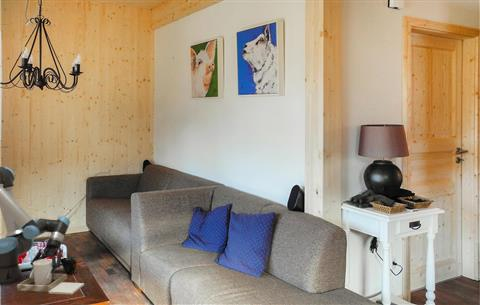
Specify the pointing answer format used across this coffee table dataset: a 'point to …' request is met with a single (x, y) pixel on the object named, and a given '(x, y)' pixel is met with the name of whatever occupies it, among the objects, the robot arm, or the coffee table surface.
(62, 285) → the coaster
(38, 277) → the candle holder
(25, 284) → the birch frame
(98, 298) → the coffee table surface
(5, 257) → the robot arm
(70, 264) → the controller
